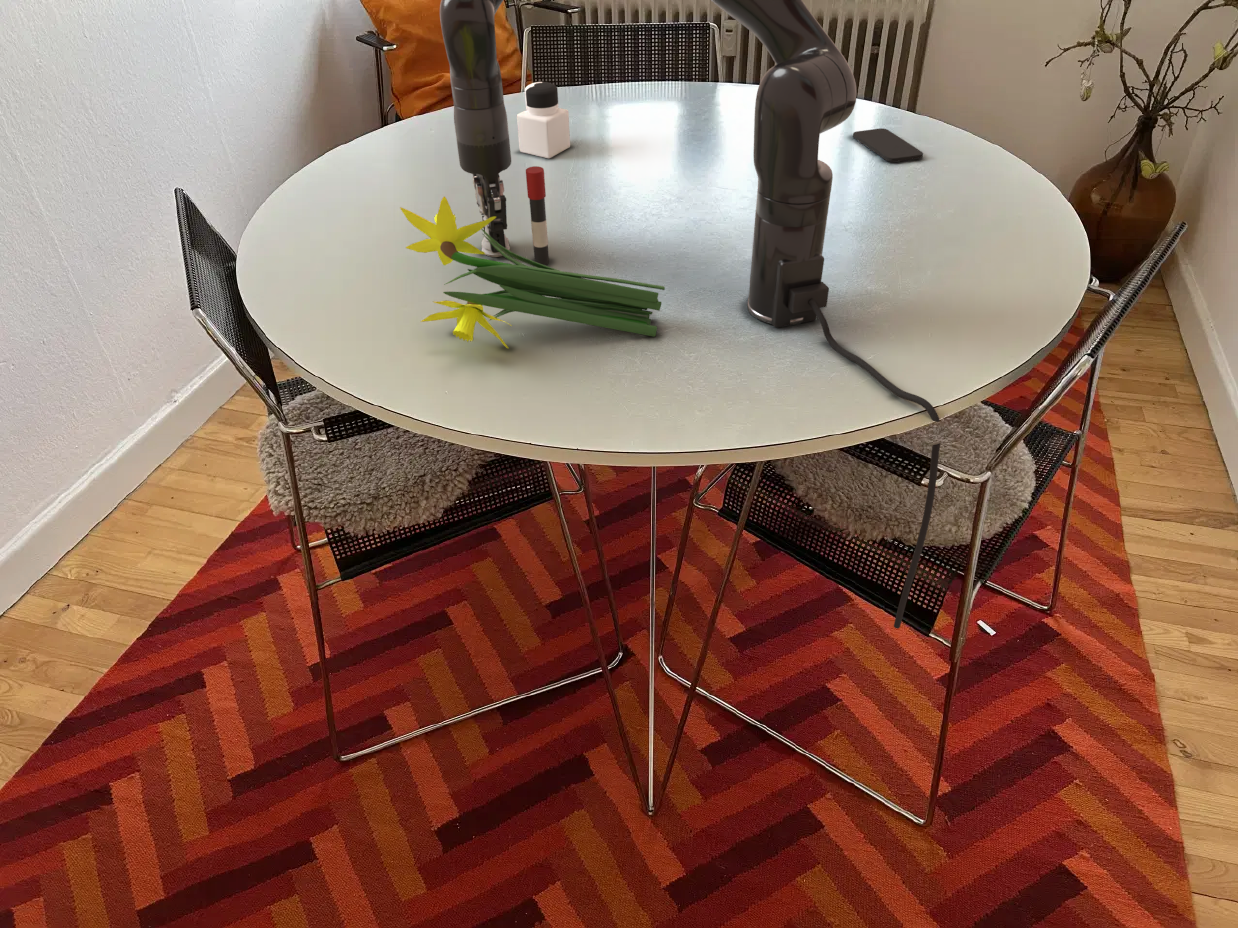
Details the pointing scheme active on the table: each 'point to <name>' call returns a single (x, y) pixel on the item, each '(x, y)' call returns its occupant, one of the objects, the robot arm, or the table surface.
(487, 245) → the rook chess piece
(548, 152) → the medicine bottle
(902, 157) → the phone
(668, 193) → the table surface
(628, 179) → the table surface
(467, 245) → the daffodil flowers
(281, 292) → the table surface
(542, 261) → the marker
